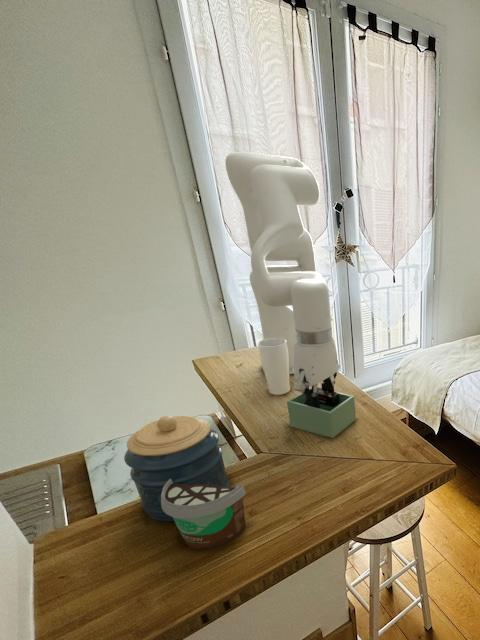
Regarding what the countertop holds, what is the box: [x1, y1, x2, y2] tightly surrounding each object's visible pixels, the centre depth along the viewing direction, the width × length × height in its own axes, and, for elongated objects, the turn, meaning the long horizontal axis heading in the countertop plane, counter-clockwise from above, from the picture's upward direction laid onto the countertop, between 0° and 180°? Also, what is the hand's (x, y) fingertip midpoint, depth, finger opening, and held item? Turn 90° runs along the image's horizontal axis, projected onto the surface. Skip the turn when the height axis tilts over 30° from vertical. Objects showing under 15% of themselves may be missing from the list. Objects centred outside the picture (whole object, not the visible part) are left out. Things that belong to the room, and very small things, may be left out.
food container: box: [161, 479, 247, 550], centre depth 64 cm, size 12×6×10 cm, turn 91°
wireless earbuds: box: [304, 386, 340, 407], centre depth 97 cm, size 5×7×3 cm, turn 77°
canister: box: [123, 415, 230, 522], centre depth 70 cm, size 13×13×18 cm
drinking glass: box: [257, 338, 291, 396], centre depth 109 cm, size 7×7×15 cm
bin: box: [286, 386, 357, 439], centre depth 99 cm, size 9×12×7 cm
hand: (321, 402), depth 98 cm, fingers closed on wireless earbuds, 4 cm apart
